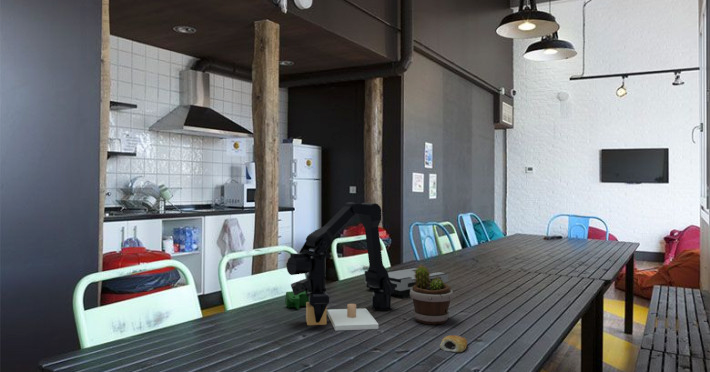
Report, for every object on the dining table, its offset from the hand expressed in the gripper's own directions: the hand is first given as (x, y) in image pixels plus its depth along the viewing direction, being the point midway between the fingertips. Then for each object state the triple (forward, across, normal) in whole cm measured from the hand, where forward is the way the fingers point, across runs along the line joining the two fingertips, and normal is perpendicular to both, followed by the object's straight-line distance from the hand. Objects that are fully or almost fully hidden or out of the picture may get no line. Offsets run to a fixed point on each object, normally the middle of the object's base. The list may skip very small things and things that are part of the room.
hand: (316, 318), depth 166 cm
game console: (+2, -46, +45) cm, 64 cm away
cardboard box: (+1, 0, 0) cm, 1 cm away
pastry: (+2, +31, +36) cm, 48 cm away
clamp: (+2, -20, -3) cm, 20 cm away
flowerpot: (+2, +3, +39) cm, 39 cm away
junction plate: (+1, 0, +12) cm, 12 cm away
